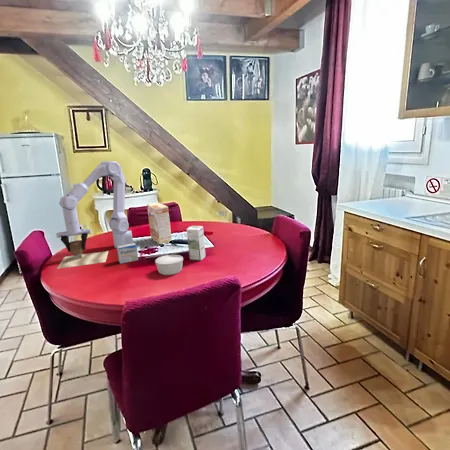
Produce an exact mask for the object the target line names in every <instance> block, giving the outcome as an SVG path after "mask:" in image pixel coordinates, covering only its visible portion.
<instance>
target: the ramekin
mask: <svg viewBox="0 0 450 450" xmlns="http://www.w3.org/2000/svg"><path fill="white" fill-rule="evenodd" d="M183 261H184V257H183V256H182V255H179V254H167V255H161V256H159V257H157V258H156V259H155V260H154V263H155V266H156V267H157V271H158V273H159V274H160V275H164V276H172V275H176V274H178V273H180V272H181V271H182V270H183Z"/></svg>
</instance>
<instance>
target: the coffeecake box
mask: <svg viewBox="0 0 450 450" xmlns="http://www.w3.org/2000/svg"><path fill="white" fill-rule="evenodd" d="M146 210H147V215H148V217H147V218H148V224H149V230H150V231H149V232H150V239H151V240H152V239H153V240H152V241H153V242H155V241H156V242H157V243H156V242H155V243H156V244H158V243H159V244H163V243H168V242H170V241H171V240H172V241H173V239H172V231H171V221H170V214H169V206H167V205H165V204H163V203H160V202H154V203H153V202H152V203H147V204H146ZM159 244H158V245H159ZM168 244H169V243H168Z"/></svg>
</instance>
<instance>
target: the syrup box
mask: <svg viewBox="0 0 450 450" xmlns="http://www.w3.org/2000/svg"><path fill="white" fill-rule="evenodd" d="M204 233H205V232H204V226H202V225H190V226H188V228H186V236H187V246H188V247H187V248H188V256H189V257H188V258H189V260H190V261H202V260H203V259H205V258H206V249H205V248H206V247H205V236H204V235H205V234H204Z"/></svg>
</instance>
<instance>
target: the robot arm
mask: <svg viewBox="0 0 450 450" xmlns="http://www.w3.org/2000/svg"><path fill="white" fill-rule="evenodd" d="M105 176H107V177H109V178H110V179H111V180H112V181H113V194H112V195H113V196H112V197H113V198H112V199H113V200H112V201H113V203H112V204H113V206H112V208H113V209H112V211H113V212H112V213H111V215H110V220H109V222H108V226H109V228H110V229H111V232H112V238H113V239H112V240H113V245H114V248H115V249H117V246H120V245H125V244H130V243H135V241H134V239H133V233H132V230H129V226H130V224H129V222H128V217H127V215H126V214H125V209H126V207H125V202H126V201H125V200H126V198H125V197H126V176H125V174H124V171H123V169H122V165H121V164H119V162H117V161H115V160H112V161H111V160H110V161H108V160H102V161H101V162H100V163H99V164H98V165H97V166H96V167H95V168H94V169H93V170H92V171H91V172H90V174H89V175H88V176H87V177H86V178H85V179H84V180H83V182H77V183H75V184H73V188H72V189H70V191H69V192H67V191H66V193H65V195H63V196H62V197H61V198H60V200H59V202H58V204H59V206H60V207H61V208H62V212H63V213H62V214H63V219H64V224H65V230H66V231H62V232H61V231H60V232H56V233H55V234H56V235H55V236H56V239H57V238H59V239H60V241H61V242H62V243H63V245H64V246H65V249H66V250H67V252H68V253H71V252H70V246H69V243H70V239H69V238H70V237H71V236H72V237H73V236H78V235H79V236H80V239H81V241H82V244H83V250H84V251H85V250H86V249H87V246H86V245H87V239H88V236H89V235H91V234H92V229H91V228H86V229H85V228H83V229H81V226H80V221H79V214H78V210H77V207H78V205H79V204H78V203H79V202H80V201H81V199H83V197H85V196H86V194H88V193H89V188H90V187H91V186H92V185H93V184H94V183H96V181H98V180H99V179H100V178H101V177H105Z"/></svg>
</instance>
